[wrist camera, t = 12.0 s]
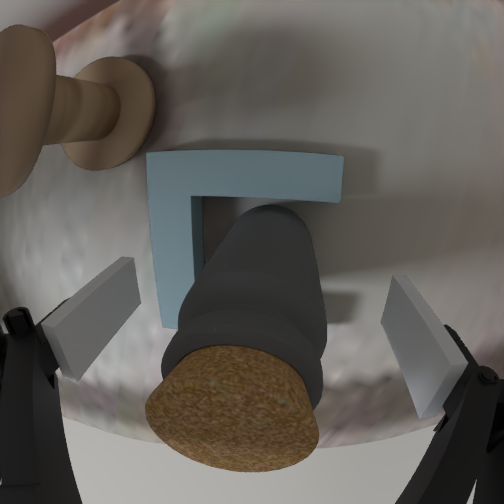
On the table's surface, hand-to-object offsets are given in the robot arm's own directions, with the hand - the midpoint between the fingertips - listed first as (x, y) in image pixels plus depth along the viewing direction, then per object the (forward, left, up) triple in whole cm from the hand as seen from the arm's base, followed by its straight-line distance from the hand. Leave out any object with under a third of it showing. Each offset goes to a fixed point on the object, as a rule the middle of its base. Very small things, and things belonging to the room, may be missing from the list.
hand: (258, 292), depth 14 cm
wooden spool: (-13, +10, -7) cm, 18 cm away
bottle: (0, 0, -7) cm, 7 cm away
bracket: (-2, 0, -7) cm, 7 cm away
